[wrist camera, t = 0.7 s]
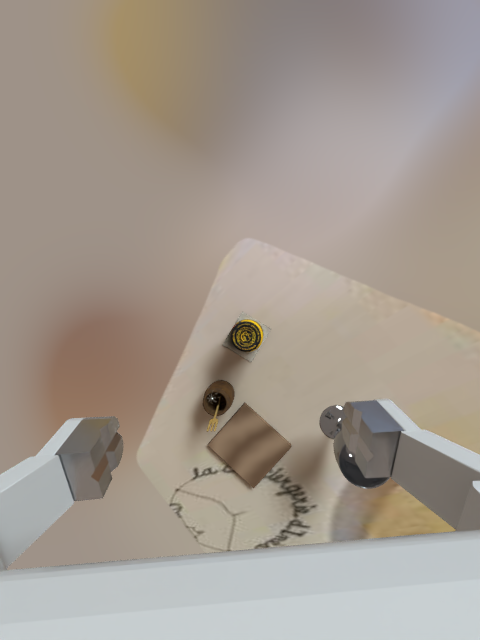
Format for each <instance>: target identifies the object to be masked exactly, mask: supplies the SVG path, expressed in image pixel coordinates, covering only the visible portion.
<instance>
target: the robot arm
mask: <svg viewBox="0 0 480 640" xmlns="http://www.w3.org/2000/svg"><path fill="white" fill-rule="evenodd" d="M343 412H344V413H345V415H346V416H347V417H346V418H345V419H344V420H343V422H342V435H343V439H344V442H345V444H346V446H347V448H348V450H350V451H351V452H353V453H354V454H356V456H355V462H356V463H357V465H358V467H359V468H360V470H361V472H362V474H363V475H364V477H365V478H381V477H391V479H393V480H394V481H395V482H396V483H398V484H399V485H400V486H401V487H403V488H404V489H405V490H406V491H408V492H409V493H410V494H412V495H413V496H414V497H415V498H417V499H418V500H419V501H420V502H422V503H423V504H424V505H425V506H427V507H428V508H429V509H430V510H432V511H433V512H434V513H436V514H437V515H438V516H439V517H441V518H442V519H443V520H444V521H446V522H447V523H448V524H449V525H451V526H452V527H453V528H454V529H456V531H454V532H443V533H431V534H420V535H408V536H397V537H385V538H374V539H362V540H351V541H339V542H328V543H316V544H305V545H293V546H282V547H271V548H259V549H248V550H236V551H225V552H214V553H203V554H191V555H180V556H167V557H156V558H144V559H132V560H121V561H109V562H98V563H86V564H75V565H62V566H51V567H39V568H28V569H16V570H7V567H8V566H10V565H11V564H12V562H14V561H15V560H16V559H17V558H18V557H19V556H20V555H21V554H22V553H23V552H24V551H25V550H26V549H27V548H28V547H29V546H30V545H31V544H32V543H33V542H34V541H35V540H36V539H37V538H38V537H40V535H42V534H43V533H44V532H45V531H46V530H47V529H48V528H49V527H50V526H51V525H52V524H53V523H54V522H55V521H56V520H57V519H58V518H59V517H60V516H61V515H62V514H63V513H64V512H65V511H66V510H67V509H68V508H70V507H71V506H72V505H73V504H74V501H81V500H90V499H100V498H103V497H104V495H105V492H106V490H107V488H108V486H109V484H110V482H111V480H112V475H111V472H112V471H113V470H114V469H115V468H116V467H118V465H119V463H120V460H121V458H122V453H123V439H122V436H121V435H120V434H118V433H117V430H118V428H119V422H118V419H117V418H116V417H93V418H92V417H90V418H72V419H70V420H67V421H66V422H65V423H64V424H63V426H62V427H61V428H60V429H59V430H58V431H57V432H56V434H55V435H54V436H53V437H52V438H51V439H50V440H49V442H48V443H47V444H46V445H45V446H44V447H43V448H42V450H41V451H40V452H39V453H38V454H37V455H36V456H35V457H29V458H28V459H26V460H24V461H23V462H21V463H19V464H18V465H16V466H14V467H12V468H11V469H9V470H8V471H6V472H4V473H2V474H1V475H0V640H480V455H479V454H477V453H475V452H473V451H470V450H468V449H466V448H464V447H462V446H460V445H458V444H455V443H453V442H451V441H449V440H447V439H445V438H443V437H440V436H438V435H436V434H434V433H432V432H430V431H427V430H421V429H420V428H419V427H418V426H417V425H416V424H415V423H414V422H413V421H412V420H411V419H410V418H409V417H408V416H407V415H406V414H404V413H403V412H402V411H401V410H400V409H399V408H398V407H397V406H396V405H395V404H394V403H393V402H392V401H391V400H389V399H377V400H370V401H355V402H346V403H345V405H344V411H343Z"/></svg>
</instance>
